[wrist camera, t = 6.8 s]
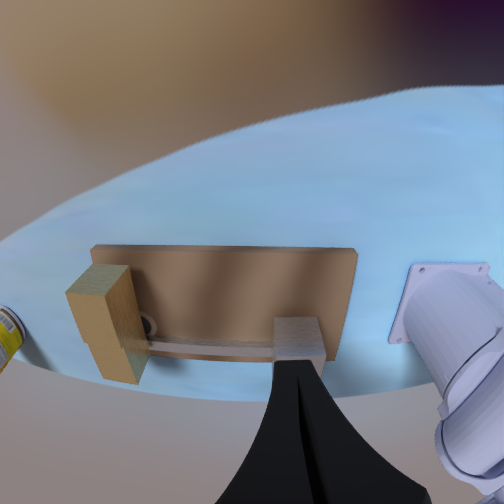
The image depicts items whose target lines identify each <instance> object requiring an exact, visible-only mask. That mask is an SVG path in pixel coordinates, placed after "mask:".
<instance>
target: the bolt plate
mask: <svg viewBox="0 0 504 504" xmlns="http://www.w3.org/2000/svg"><path fill="white" fill-rule="evenodd" d="M90 253H91V257H92V261H93V264H109V265H129V267H130V272H131V277H132V282H133V286H134V291H135V295H136V300H137V304H138V308H139V312H140V316H141V320H142V324H143V328H144V331H145V335H160V336H172V337H184V338H199V339H218V340H246V341H273V328H274V317H317V320H318V324H319V328H320V332H321V335H322V339H323V343H324V347H325V351H326V359H325V361H335V357H336V353H337V350H338V346H339V342H340V338H341V334H342V330H343V326H344V321H345V317H346V313H347V308H348V304H349V299H350V294H351V289H352V284H353V279H354V274H355V269H356V263H357V257H358V254H357V252H356V251H355V249H354V248H318V247H259V246H186V245H95V246H94V247H93V248H92V249H91V250H90ZM150 353H151V354H150V355H153V356H162V357H172V358H182V359H195V360H209V361H228V362H272V357H245V356H219V355H202V354H188V353H177V352H166V351H157V350H150Z"/></svg>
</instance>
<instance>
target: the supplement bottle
mask: <svg viewBox="0 0 504 504" xmlns="http://www.w3.org/2000/svg"><path fill="white" fill-rule="evenodd" d="M24 341H25V331H24V328H23V326H22V324H21V322H20V320H19V319H18V318H17V316H16V315H15V314H14V313H13V312H12V311H11V310H10V309H8V308H7V307H5V306H0V373H1V372H2V371H3V369H4V368H5V366H6V365H7V364H8V362H9V361H10V360H11V358H12V357H13V356H14V354H15V353H16V352H17V350H18V349H19V348H20V346H21V345H22V344H23V342H24Z"/></svg>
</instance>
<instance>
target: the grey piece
mask: <svg viewBox="0 0 504 504" xmlns="http://www.w3.org/2000/svg"><path fill="white" fill-rule="evenodd" d="M146 339H147V342H148V346H149V349H150V350H157V351H166V352H177V353H188V354H202V355H219V356H245V357H272V380H273V368H274V362H275V361H277V360H307V359H310V360H311V361H312V363H313V365H314V367H315V369H316V371H317V373H318V375H319V377H320V379H321V375H322V371H323V367H324V363H325V359H326V351H325V347H324V343H323V339H322V335H321V332H320V328H319V324H318V320H317V317H274V328H273V341H246V340H218V339H199V338H184V337H172V336H160V335H146Z"/></svg>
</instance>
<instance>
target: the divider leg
mask: <svg viewBox="0 0 504 504" xmlns="http://www.w3.org/2000/svg"><path fill="white" fill-rule="evenodd" d="M65 293H66V296H67V299H68V302H69V305H70V308H71V311H72V314H73V316H74V319H75V321H76V324H77V327H78V329H79V332H80V334H81V337H82V339H83V341H84V343H87V344H88V346H89V348H90V351H91V353H92V355H93V357H94V360H95V362H96V364H97V366H98V368H99V370H100V372H101V375H102V377H103V378H104V379H108V380H113V381H118V382H124V383H129V384H135V385H138V384H139V381H140V379H141V376H142V374H143V371H144V369H145V366H146V364H147V361H148V359H149V356H150V354H151V353H150V349H149V346H148V342H147V339H146V335H145V331H144V328H143V324H142V320H141V316H140V312H139V308H138V304H137V300H136V295H135V291H134V286H133V282H132V277H131V272H130V267H129V265H109V264H92V265H91V266H90V267H89V268H88V269H87V270H86V271H85V272H84V273H83V274H82V275H81V276H80V277H79V278H78V279H77V280H76V281H75V282H74V283H73V284H72V286H71V287H70V288H69V289H68V290H67V291H66V292H65Z"/></svg>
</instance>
